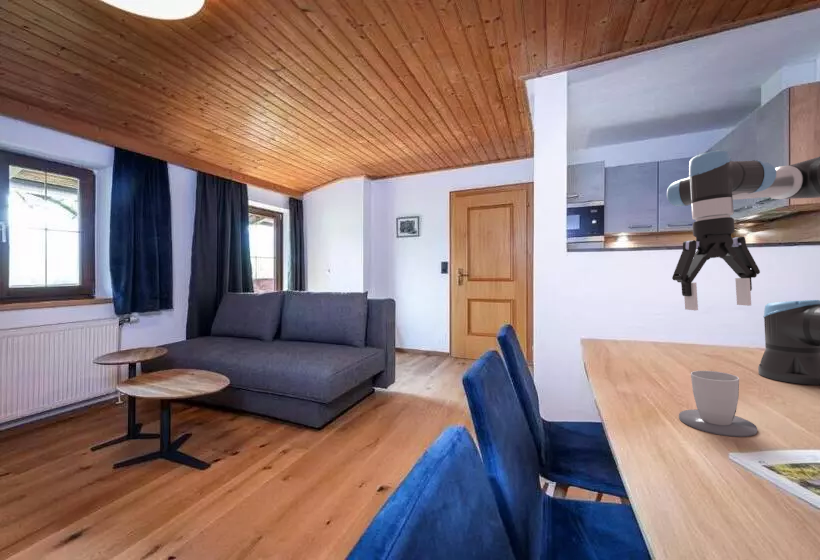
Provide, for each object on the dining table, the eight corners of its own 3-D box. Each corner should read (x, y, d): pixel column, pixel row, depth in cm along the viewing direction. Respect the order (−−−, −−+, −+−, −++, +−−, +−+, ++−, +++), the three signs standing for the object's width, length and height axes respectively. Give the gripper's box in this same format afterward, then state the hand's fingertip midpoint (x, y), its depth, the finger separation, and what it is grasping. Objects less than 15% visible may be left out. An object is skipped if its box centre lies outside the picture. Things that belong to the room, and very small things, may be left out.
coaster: (716, 410, 85) (716, 407, 85) (775, 434, 72) (775, 431, 72) (664, 413, 84) (664, 411, 84) (715, 438, 71) (715, 436, 71)
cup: (751, 429, 73) (749, 381, 73) (706, 427, 75) (704, 380, 75) (724, 414, 81) (723, 370, 81) (684, 412, 83) (683, 370, 83)
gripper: (744, 218, 89) (749, 301, 89) (651, 224, 87) (656, 310, 87) (777, 212, 81) (783, 304, 82) (676, 219, 79) (682, 313, 80)
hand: (717, 307), depth 84 cm, fingers open, 13 cm apart
